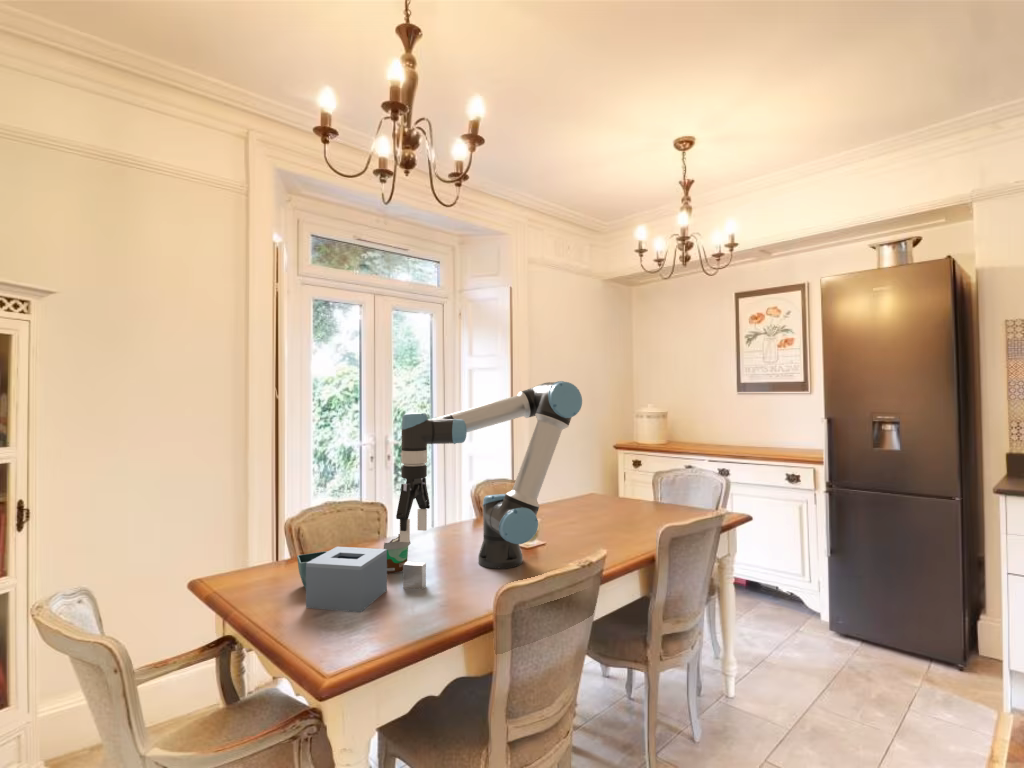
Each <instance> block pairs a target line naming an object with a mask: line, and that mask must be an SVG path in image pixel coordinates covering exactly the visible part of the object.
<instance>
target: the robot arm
mask: <svg viewBox="0 0 1024 768" xmlns="http://www.w3.org/2000/svg"><path fill="white" fill-rule="evenodd" d="M582 406H583V398H582V394H581V392H580V389H579V388H578V387H577V386H576V385H575V384H573V383H572V382H568V381H563V380H559V381H558V380H557V381H553V382H550V381H549V382H548V381H547V382H543V383H541V384H538V385H536V386H533V387H530V388H528V389H524V390H520V391H519V392H518V393H517V394H516V395H513V396H510V397H506V398H504V399H500V400H495V401H492V402H489V403H485V404H482V405H477V406H474V407H470V408H467V409H464V410H463V409H462V410H460V411H456V412H453V413H450V414H449V413H448V414H444V415H442V416H435V417H432V418H428V414H427V413H425V412H406V413H403V415H402V417H401V428H400V429H401V452H400V454H399V455H400V456H401V463H402V465H401V469H400V470H401V471H400V472H401V473H400V476H401V479H402V478H403V479H405V480H406V483H401V485H400V496H399V498H398V505H397V510H396V515H395V518H396V519H397V520H399V534H400V542H410V543H411V539H410V538H411V537H410V535H411V534H410V531H411V523H410V522H411V519H410V518H409V517H410V513H411V509H412V505H413V503H414V500H415V501H416V503H417V506H418V509H417V531H423V532H425V531H427V523H428V521H427V517H428V515H427V514H428V512H427V511H428V509H430V507H431V506H430V498H429V493H428V487H427V478H426V477H427V475H428V466H427V463H428V445H438V444H441V445H443V444H448V445H449V444H453V445H455V444H456V445H457V444H463V443H464V442H465V441H466V439H467V433H469V432H474V431H477V430H481V429H484V428H487V427H490V426H491V427H492V426H494V425H497V424H500V423H501V424H502V423H505V422H508V421H511V420H516V419H518V418H521V417H523V418H525V419H528V418H532V417H535V418H536V420H537V422H536V424H535V427H534V429H533V431H532V432H533V433H532V435H531V437H530V439H529V443H528V446H527V449H526V451H525V454H524V456H523V460H522V462H521V465H520V468H519V471H518V473H517V476H516V477H515V480H514V481H515V482H514V484H513V487H512V489H511V490H509V491H507V492H506V493H500V494H499V493H498V494H488V495H485V496H484V497H483V502H482V507H483V509H482V511H483V512H482V514H483V515H482V516H483V521H482V522H483V523H482V524H483V533H482V534H483V540H482V542H481V543H482V544H481V546H480V550H479V553H478V559H477V560H478V564H479V565H480V566H481V567H485V568H487V569H488V568H489V569H499V570H500V569H510V568H515V567H518V566H520V565H522V564H523V560H524V558H523V553H522V549H521V546H520V545H523V544H525V543H527V542H529V541H531V540H532V539H533V538H534V537H535V535H536V534H537V532H538V529H539V520H538V517H537V514H538V512H539V508H540V504H539V501H538V497H539V494H540V493H541V490H542V486H543V484H544V481H545V479H546V475H547V473H548V470H549V467H550V464H551V462H552V459H553V456H554V454H555V450H556V449H557V446H558V445H557V444H558V443H559V439H560V437H561V433H562V431H563V430H566V429H567V428H569V425H570V423H571V421H572V418H573V417H575V416H577V415H578V413H579V412H580V411H581V409H582Z"/></svg>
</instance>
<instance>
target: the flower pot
mask: <svg viewBox="0 0 1024 768" xmlns="http://www.w3.org/2000/svg"><path fill="white" fill-rule="evenodd" d="M326 552H328V551H327V550H324V551H318V552H310V553H302V554H298V555H296V559H297V566H298V573H299V577H300V579H301V583H302V585H303V587H304V588H305V590H306V563H307V562H309V561H311V560H313V559H315V558H316V557H318V556H320V555H322V554H324V553H326Z"/></svg>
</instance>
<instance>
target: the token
mask: <svg viewBox="0 0 1024 768" xmlns="http://www.w3.org/2000/svg"><path fill="white" fill-rule="evenodd" d="M402 577H403V578H402V589H405V590H421V591H422V590H424V589H425V588H426V587H427V562H423V561H421V562H419V561H407V562H406V563H405V564H403V571H402Z"/></svg>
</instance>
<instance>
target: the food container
mask: <svg viewBox="0 0 1024 768" xmlns="http://www.w3.org/2000/svg"><path fill="white" fill-rule="evenodd" d="M410 545H411V541H410V542H400V533H398V537H397V536H396V538H393V539H391V540H389V542H384V543H383V549H387V574H396V573H400V572H403V564H405V563H406V562H408V557H409V546H410Z"/></svg>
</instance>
